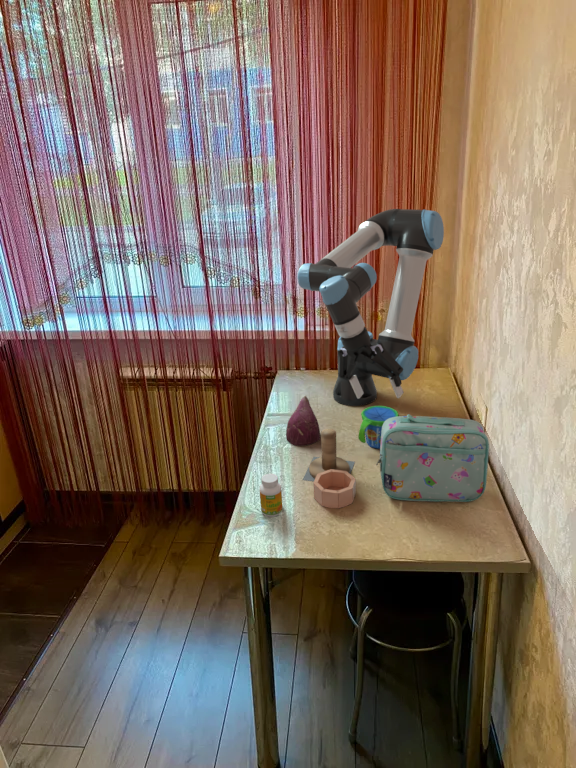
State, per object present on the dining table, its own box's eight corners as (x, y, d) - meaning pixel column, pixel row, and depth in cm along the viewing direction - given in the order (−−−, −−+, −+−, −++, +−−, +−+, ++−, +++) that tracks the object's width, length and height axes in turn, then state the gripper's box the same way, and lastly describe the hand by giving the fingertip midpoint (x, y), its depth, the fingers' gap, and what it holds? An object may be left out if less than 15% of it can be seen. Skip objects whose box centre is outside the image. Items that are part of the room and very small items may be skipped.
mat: (313, 457, 160) (313, 456, 160) (354, 462, 157) (354, 461, 157) (302, 481, 150) (302, 479, 150) (346, 487, 147) (346, 485, 146)
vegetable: (299, 437, 178) (298, 391, 176) (326, 442, 172) (326, 394, 170) (278, 444, 170) (278, 395, 167) (306, 449, 163) (306, 398, 161)
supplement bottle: (265, 519, 136) (263, 486, 132) (258, 507, 140) (255, 475, 136) (286, 513, 138) (284, 480, 134) (277, 501, 142) (275, 469, 138)
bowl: (320, 483, 149) (320, 467, 146) (357, 488, 146) (357, 472, 144) (310, 506, 140) (310, 489, 138) (350, 511, 137) (350, 495, 135)
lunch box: (375, 502, 140) (377, 428, 131) (375, 479, 149) (376, 408, 140) (485, 507, 136) (495, 431, 127) (478, 483, 145) (487, 410, 137)
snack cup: (386, 428, 174) (387, 399, 170) (410, 442, 166) (412, 412, 161) (347, 444, 166) (347, 414, 162) (370, 459, 158) (371, 428, 154)
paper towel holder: (314, 457, 160) (313, 420, 155) (352, 462, 156) (352, 424, 152) (304, 479, 150) (303, 440, 145) (344, 484, 147) (344, 445, 142)
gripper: (310, 342, 157) (339, 403, 165) (384, 335, 140) (412, 403, 148) (324, 329, 162) (351, 388, 170) (398, 320, 144) (424, 387, 153)
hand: (379, 395), depth 159 cm, fingers open, 13 cm apart
